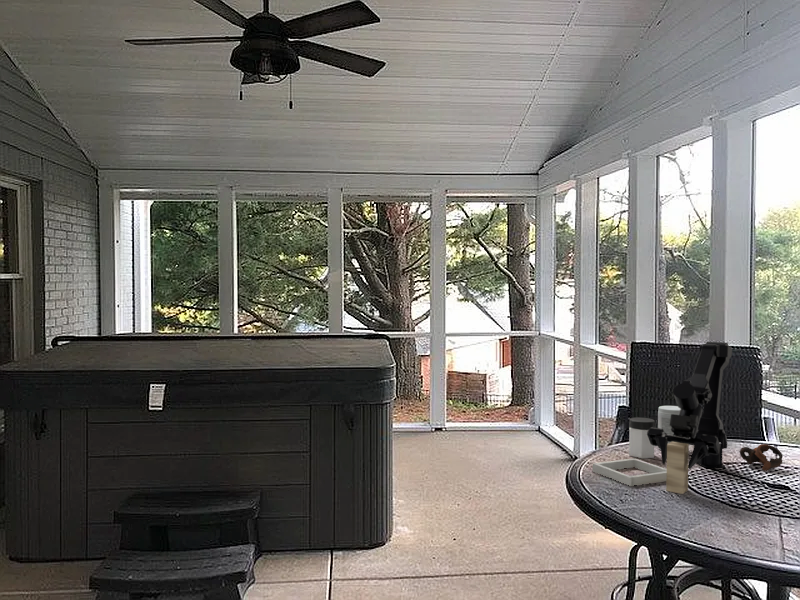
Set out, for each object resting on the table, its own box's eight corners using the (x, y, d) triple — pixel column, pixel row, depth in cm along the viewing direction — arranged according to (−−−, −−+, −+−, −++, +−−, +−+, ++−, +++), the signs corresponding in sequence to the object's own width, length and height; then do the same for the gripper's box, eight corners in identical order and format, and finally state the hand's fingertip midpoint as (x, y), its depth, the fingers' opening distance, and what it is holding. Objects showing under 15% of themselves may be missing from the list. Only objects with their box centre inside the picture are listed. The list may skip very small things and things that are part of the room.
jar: (660, 456, 230) (661, 420, 230) (647, 460, 225) (647, 423, 225) (636, 450, 237) (637, 416, 237) (622, 454, 232) (623, 419, 232)
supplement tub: (693, 452, 235) (694, 409, 235) (668, 454, 233) (669, 410, 232) (675, 446, 244) (676, 404, 244) (651, 447, 242) (652, 405, 242)
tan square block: (671, 487, 196) (672, 441, 195) (687, 490, 193) (688, 443, 192) (666, 490, 192) (667, 444, 192) (683, 494, 189) (683, 446, 189)
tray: (634, 466, 217) (634, 458, 217) (674, 480, 202) (674, 471, 202) (592, 471, 211) (592, 463, 211) (630, 486, 196) (630, 477, 196)
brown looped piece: (774, 465, 222) (784, 446, 217) (776, 485, 214) (786, 466, 210) (734, 453, 225) (743, 434, 220) (735, 472, 217) (744, 453, 213)
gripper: (649, 399, 201) (635, 444, 192) (718, 407, 189) (706, 455, 181) (658, 422, 207) (644, 466, 199) (725, 431, 195) (713, 478, 187)
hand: (676, 466), depth 191 cm, fingers open, 7 cm apart
